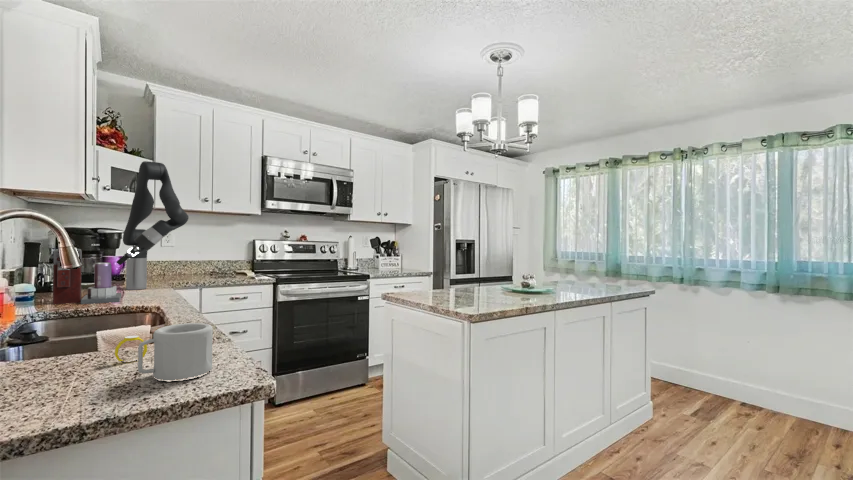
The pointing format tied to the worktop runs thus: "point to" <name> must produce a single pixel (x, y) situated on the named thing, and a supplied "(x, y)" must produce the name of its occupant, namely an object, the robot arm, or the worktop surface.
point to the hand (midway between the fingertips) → (118, 263)
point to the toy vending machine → (66, 282)
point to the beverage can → (102, 275)
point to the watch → (129, 338)
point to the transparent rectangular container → (101, 295)
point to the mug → (180, 351)
